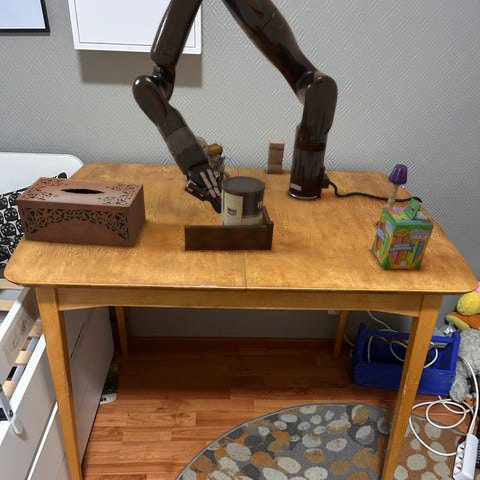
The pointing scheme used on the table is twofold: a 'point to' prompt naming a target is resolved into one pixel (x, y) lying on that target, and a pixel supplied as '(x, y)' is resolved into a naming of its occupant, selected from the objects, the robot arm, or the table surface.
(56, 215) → the tissue box cover
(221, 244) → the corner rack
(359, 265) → the table surface
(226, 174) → the robotic toy
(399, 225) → the chalk box
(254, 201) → the coffee can
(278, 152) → the brown banded block
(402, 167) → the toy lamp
